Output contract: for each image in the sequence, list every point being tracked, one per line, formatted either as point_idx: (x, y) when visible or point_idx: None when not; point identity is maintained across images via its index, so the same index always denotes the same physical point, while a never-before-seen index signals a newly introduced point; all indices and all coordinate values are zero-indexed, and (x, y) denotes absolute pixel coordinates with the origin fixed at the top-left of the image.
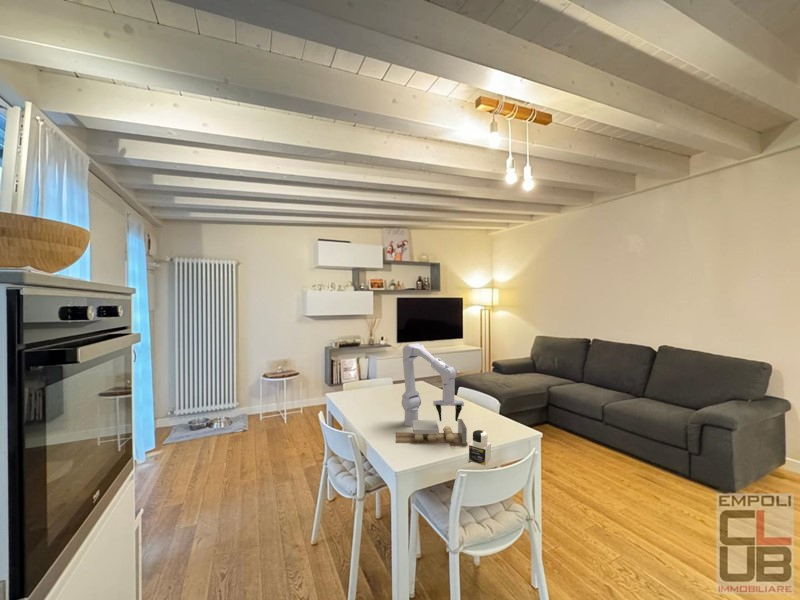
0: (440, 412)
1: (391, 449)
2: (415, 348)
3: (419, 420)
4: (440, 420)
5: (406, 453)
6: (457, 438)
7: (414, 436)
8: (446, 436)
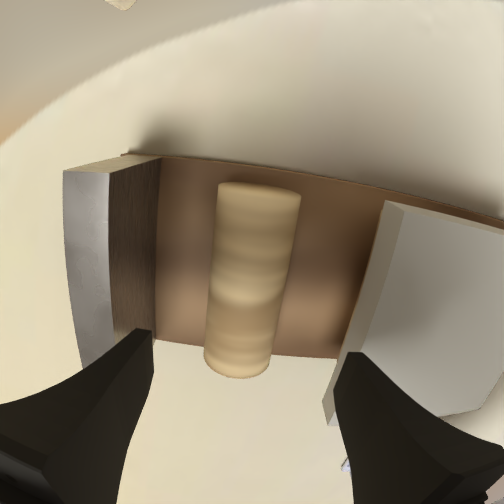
0: (417, 426)
1: None
2: None
3: (448, 411)
4: (363, 355)
5: None
6: (177, 251)
7: None
8: (298, 197)
